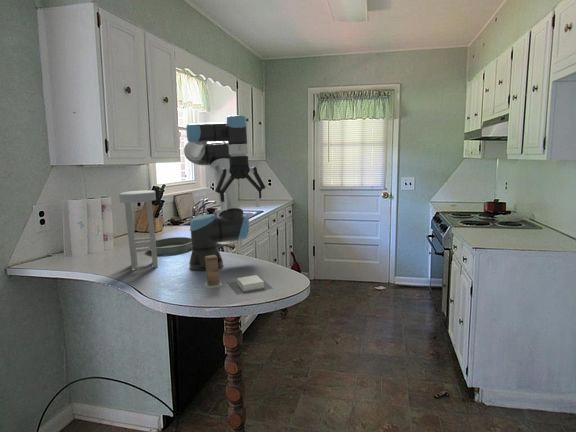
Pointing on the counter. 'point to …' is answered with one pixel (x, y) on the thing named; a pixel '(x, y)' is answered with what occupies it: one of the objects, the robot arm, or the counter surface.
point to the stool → (128, 199)
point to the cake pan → (173, 245)
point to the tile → (250, 283)
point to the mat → (240, 291)
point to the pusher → (212, 270)
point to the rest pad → (212, 286)
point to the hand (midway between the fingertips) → (241, 208)
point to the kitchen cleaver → (226, 244)
